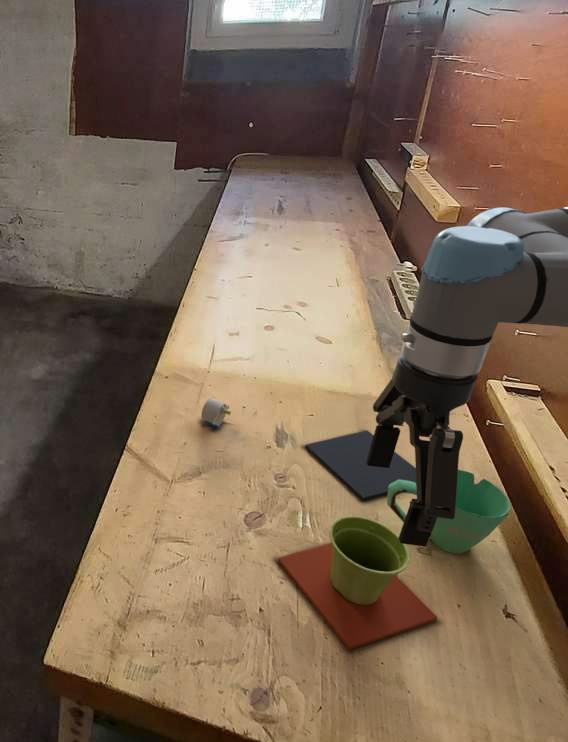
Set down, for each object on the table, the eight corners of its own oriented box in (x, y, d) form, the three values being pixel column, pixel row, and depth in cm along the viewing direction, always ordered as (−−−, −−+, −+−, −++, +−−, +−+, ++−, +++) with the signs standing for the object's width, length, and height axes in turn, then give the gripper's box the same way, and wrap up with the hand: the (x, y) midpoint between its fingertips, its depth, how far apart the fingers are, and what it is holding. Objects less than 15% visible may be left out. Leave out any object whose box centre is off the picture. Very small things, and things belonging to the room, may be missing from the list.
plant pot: (400, 626, 74) (418, 582, 70) (320, 605, 77) (333, 561, 73) (386, 568, 81) (401, 525, 78) (314, 551, 84) (326, 509, 81)
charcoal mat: (430, 482, 97) (431, 479, 97) (362, 500, 94) (363, 497, 93) (366, 432, 109) (367, 430, 109) (304, 447, 106) (305, 444, 106)
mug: (473, 522, 89) (494, 474, 84) (499, 574, 81) (523, 524, 76) (369, 503, 93) (384, 457, 89) (383, 551, 85) (400, 502, 80)
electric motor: (219, 437, 109) (222, 417, 107) (197, 427, 112) (199, 407, 110) (235, 420, 114) (238, 400, 111) (213, 411, 117) (215, 391, 114)
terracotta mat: (436, 620, 75) (437, 617, 75) (348, 649, 72) (349, 646, 71) (355, 538, 87) (356, 535, 87) (277, 560, 84) (278, 557, 84)
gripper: (369, 311, 76) (338, 436, 85) (445, 427, 54) (392, 577, 63) (432, 315, 74) (394, 442, 83) (537, 436, 52) (469, 589, 61)
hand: (393, 501), depth 73 cm, fingers open, 13 cm apart
